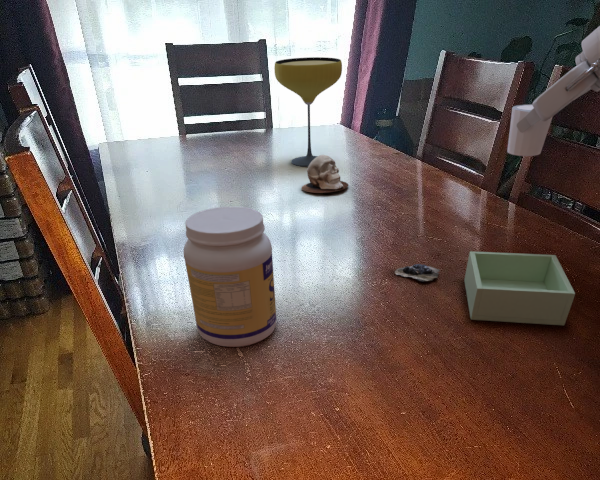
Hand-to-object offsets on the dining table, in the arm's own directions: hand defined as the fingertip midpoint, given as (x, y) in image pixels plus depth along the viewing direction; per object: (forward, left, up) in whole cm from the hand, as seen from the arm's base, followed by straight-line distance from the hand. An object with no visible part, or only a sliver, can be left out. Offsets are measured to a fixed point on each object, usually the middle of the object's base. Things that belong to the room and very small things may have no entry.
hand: (526, 123), depth 88 cm
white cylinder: (-1, 0, -5) cm, 5 cm away
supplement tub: (+43, +39, -21) cm, 62 cm away
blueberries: (+16, +17, -21) cm, 32 cm away
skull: (+39, -31, -21) cm, 55 cm away
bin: (+1, +25, -21) cm, 32 cm away
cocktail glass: (+47, -56, -21) cm, 77 cm away
